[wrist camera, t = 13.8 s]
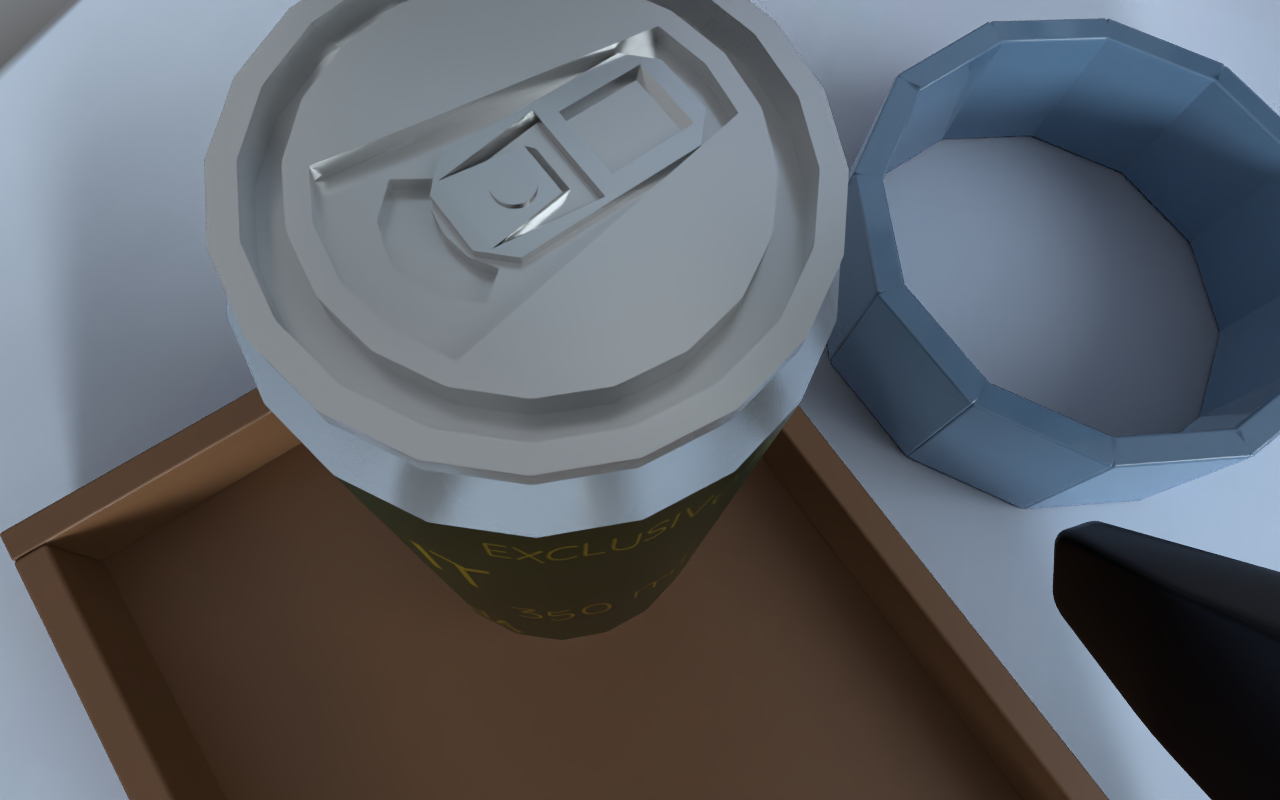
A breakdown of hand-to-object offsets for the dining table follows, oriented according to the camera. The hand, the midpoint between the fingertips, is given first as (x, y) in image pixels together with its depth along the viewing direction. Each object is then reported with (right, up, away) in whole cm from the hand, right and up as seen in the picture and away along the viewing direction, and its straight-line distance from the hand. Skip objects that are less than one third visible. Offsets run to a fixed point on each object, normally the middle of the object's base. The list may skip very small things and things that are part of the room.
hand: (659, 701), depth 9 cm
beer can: (-2, +1, +10) cm, 10 cm away
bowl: (+9, +5, +12) cm, 16 cm away
